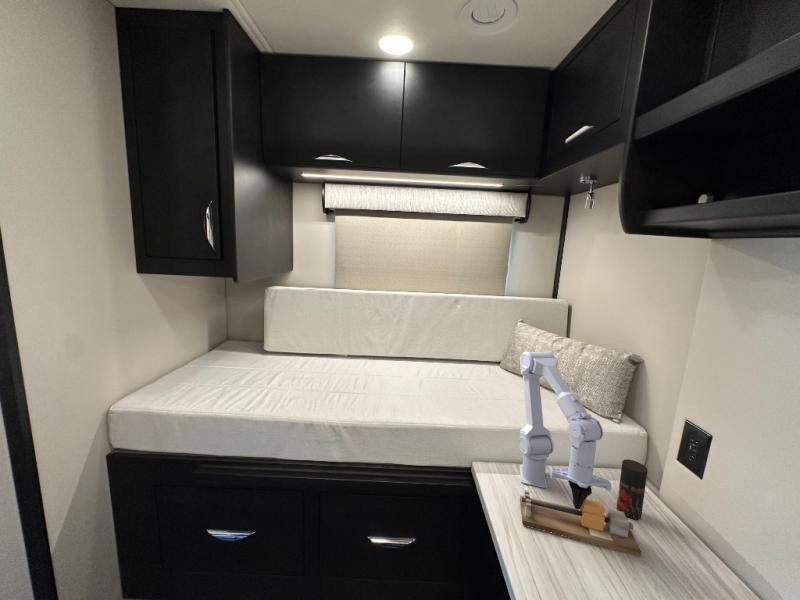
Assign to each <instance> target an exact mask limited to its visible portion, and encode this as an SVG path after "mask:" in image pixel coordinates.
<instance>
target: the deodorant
mask: <svg viewBox="0 0 800 600" xmlns="http://www.w3.org/2000/svg"><path fill="white" fill-rule="evenodd" d="M648 471H649V469H648V468H647V466H646V465H644V464H643V463H641V462H638V461H636V460H633V459H629V458H628V459H623V460H622V462H621V469H620V478H619V485H618V494H617V502H616V510H617V511H621V512H624V514H625V516H626V518H627V519H628V520H632V521H640V520H642V514H643V506H644V501H645V500H644V499H645V491H646V483H647V479H648V478H647V477H648Z"/></svg>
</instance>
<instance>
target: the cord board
mask: <svg viewBox="0 0 800 600" xmlns="http://www.w3.org/2000/svg"><path fill="white" fill-rule="evenodd" d="M519 502H520V503H519V505H520V513H521V514H520V515H522V516H521V523H522V524H523V525H525V526H524V527H527V526H529V527H528V528H531V527H533V528H532V529H534V528H536V529H535V530H538V529H540V530H539V531H542V530H545V531H544V532H546V531H547V532H546V533H549V532H552V533H551V534H553V533H555V534H554V535H557V534H559V535H558V536H561V535H563V536H562V537H565V536H566V537H565V538H568V537H570V538H569V539H572V538H574V539H573V540H576V539H577V540H576V541H580V540H582V541H581V542H583V541H585V542H584V543H587V542H588V544H592V545H596V546H599V547H602V548H606V549H611V550H614V551H618V552H620V553H621V552H622V553H626V554H630V555H632V556H637V557H642V549H641V548H640V545H639V544H638V542H637V540H636V538H635V536H634V534H633V533H632V530H634V524H633V522H631V521H629V519H628V518H626V516H625V514H624V512H621V511H618V510H617V509H612V508H607V507H606V509H605V511H606V512H605V514H604V517H605V519H604V527H603V531H600V530H596V529H593V528H589V527H585V526H582V524H581V521H580V518H579V516H582V511H579V509H576V508H575V507H571V506H567V505H562V504H557V503H554V502H551V501H550V502H549V501H545V500H541V499H537V498H532V497H531V495H530V491H529V490H524V495H520V496H519ZM523 525H522V526H523Z"/></svg>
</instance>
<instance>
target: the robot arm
mask: <svg viewBox="0 0 800 600" xmlns="http://www.w3.org/2000/svg"><path fill="white" fill-rule="evenodd" d="M558 365H559V364H558V359H557V358H556V356H555V354H554V353H553V351H550V350H546V351H524V352H523V353H522V354H521V355H520V357H519V367H520V374H521V375H522V383H523V393H524V394H523V395H524V406H525V417H526V421H525V422H526V424H525V425H524V426H523V427H522V428H521V429H519V438H518V446H519V449H520V451H521V453H522V454H523V456H522V464H520V465H519V474H520V482H521V483H522V484H523V485H524V484H525V485H529V486H534V487H538V488H541V489H548V484H547V480H546V469H547V458H549V457H550V455H551V454H553V452H554V449H555V448H554V447H555V446H554V441H553V438H552V435H551V433H552V432H551V431H550V430H549V429H548V428H546V427H545V425H544V419H543V418H544V417H543V407H542V406H543V405H542V395H541V393H542V392H541V384H540V379H541V378H542V376H543V377H544V378H545V379H546V382H547V383H548V384H549V386H550V387H551V389H552V390H553V391H554V393H555V394H556V396H557V400H556V403H557V405H558V407H559V409H560V410H561V412H562V414H563V416H564V417H565V419H566V421H567V422H568V424H567V431H568V434H569V442H570V451H569V462H568V468H555V467H550V472H549V474H550V475H549V476H550V479H562V480H564V481H567V482H568V484H569V487H570V490H571V494H572V495H571V496H572V504H573V508H575V509H580V508H581V506H582V504H583V502H584V500H585V499H586V498H588V497H589V496H590V495H591V494H592V492H593V491H592V490H593V489H592V487H597V488H602V489H605V490H606V491H609V492H611V491H612V483H611V481H610V480H609V479H607V478H603V477H601V476H597V475H595V474H593V473H594V466H595V465H594V464H595V458H596V457H595V456H596V447H597V441H599V440H601V439H602V438H603V437H604V431H603V426H602V425H601V422H600V421H599V419H597V418H596V417H593V416H592V414H590V413H588V411H587V410H586V409H585V407H584V406H583V403H582V402H581V401H580V399H579V397H578V395H577V394H575V393H573V392H570V390H569V388H568V387H567V384H566V383H565V381H564V379H563V377H562V375H561V373H560V371H559V369H558Z"/></svg>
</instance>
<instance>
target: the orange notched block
mask: <svg viewBox="0 0 800 600" xmlns="http://www.w3.org/2000/svg"><path fill="white" fill-rule="evenodd" d="M579 511H582V516H579V518H580V521H581V524H582V526H585V527H589V528H593V529H596V530H600V531H603V527H604V519H605V517H604V515H605V514H606V512H605V511H606V509H605V507H604V504H603V502H602V501H600V500H598V499H593V498H588V497H587V498H586V499H585V500H584V502H583V504H582V506H581V508H580V509H579Z"/></svg>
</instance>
